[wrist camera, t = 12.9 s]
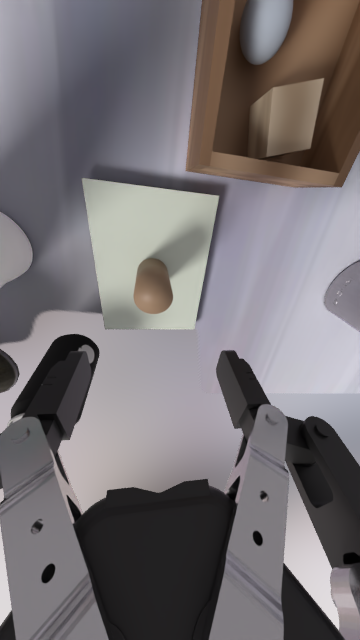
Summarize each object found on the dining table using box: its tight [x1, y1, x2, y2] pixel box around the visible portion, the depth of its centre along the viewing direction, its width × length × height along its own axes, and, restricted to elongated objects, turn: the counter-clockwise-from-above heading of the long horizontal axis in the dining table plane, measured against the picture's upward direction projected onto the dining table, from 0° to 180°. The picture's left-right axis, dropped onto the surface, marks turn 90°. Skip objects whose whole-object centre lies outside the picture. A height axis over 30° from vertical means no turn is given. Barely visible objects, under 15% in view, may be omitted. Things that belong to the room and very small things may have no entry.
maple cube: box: [247, 78, 324, 160], centre depth 15 cm, size 4×4×4 cm
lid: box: [82, 178, 219, 329], centre depth 20 cm, size 13×17×8 cm
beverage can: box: [7, 334, 99, 427], centre depth 24 cm, size 7×7×12 cm
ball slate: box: [240, 0, 293, 65], centre depth 12 cm, size 3×3×3 cm
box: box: [186, 0, 360, 187], centre depth 12 cm, size 12×16×6 cm
